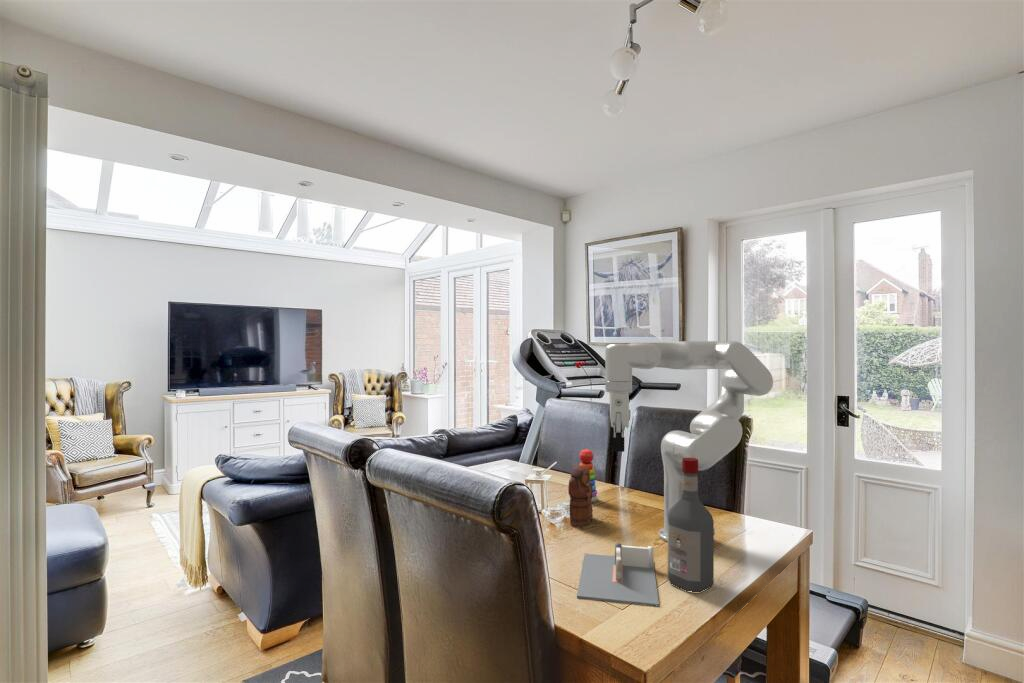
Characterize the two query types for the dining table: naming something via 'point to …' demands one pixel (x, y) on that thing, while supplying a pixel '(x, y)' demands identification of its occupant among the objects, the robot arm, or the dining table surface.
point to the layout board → (635, 577)
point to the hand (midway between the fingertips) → (618, 450)
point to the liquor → (690, 536)
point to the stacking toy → (586, 459)
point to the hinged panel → (618, 565)
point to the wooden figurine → (580, 496)
